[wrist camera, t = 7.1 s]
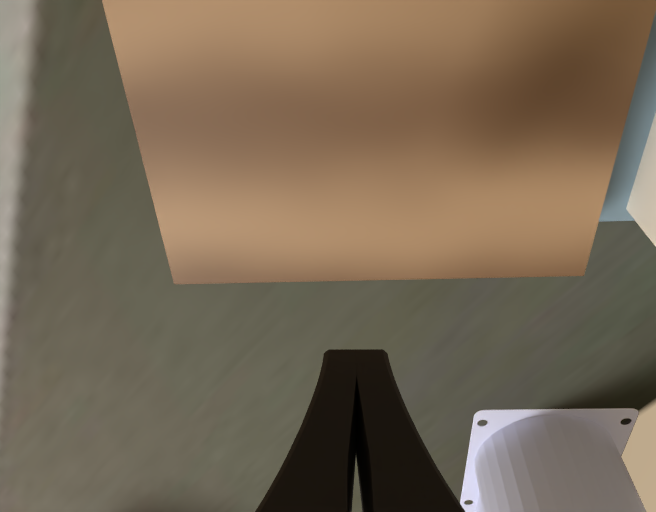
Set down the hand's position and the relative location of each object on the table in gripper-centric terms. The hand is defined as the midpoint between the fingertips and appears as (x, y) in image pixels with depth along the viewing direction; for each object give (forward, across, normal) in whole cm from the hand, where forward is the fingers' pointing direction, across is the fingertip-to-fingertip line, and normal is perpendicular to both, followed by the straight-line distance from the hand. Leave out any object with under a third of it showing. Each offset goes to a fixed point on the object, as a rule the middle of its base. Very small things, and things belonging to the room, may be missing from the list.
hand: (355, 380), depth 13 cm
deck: (+9, -1, -4) cm, 10 cm away
